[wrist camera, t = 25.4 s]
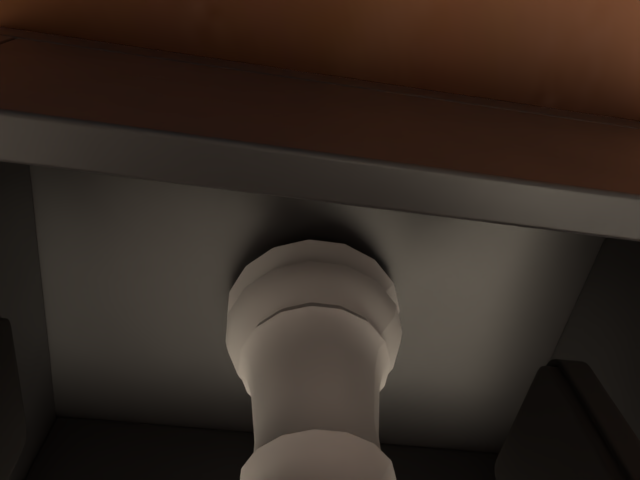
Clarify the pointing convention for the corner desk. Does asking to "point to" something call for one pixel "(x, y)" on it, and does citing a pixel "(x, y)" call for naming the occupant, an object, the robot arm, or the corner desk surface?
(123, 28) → the corner desk surface
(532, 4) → the corner desk surface
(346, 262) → the rook chess piece
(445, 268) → the charcoal bin
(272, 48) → the corner desk surface
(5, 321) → the robot arm
